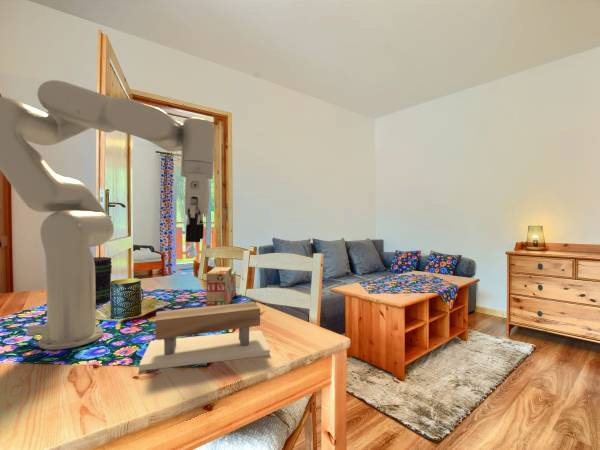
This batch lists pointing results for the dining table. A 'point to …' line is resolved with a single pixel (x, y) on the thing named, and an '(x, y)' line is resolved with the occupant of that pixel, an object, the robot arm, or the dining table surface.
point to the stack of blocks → (220, 286)
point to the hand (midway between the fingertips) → (194, 240)
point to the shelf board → (206, 319)
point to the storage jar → (102, 279)
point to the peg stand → (204, 349)
